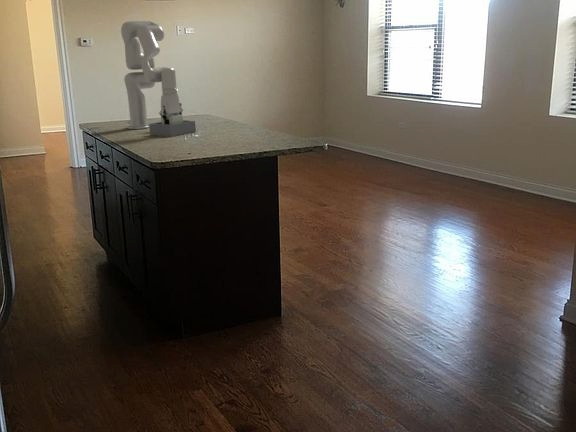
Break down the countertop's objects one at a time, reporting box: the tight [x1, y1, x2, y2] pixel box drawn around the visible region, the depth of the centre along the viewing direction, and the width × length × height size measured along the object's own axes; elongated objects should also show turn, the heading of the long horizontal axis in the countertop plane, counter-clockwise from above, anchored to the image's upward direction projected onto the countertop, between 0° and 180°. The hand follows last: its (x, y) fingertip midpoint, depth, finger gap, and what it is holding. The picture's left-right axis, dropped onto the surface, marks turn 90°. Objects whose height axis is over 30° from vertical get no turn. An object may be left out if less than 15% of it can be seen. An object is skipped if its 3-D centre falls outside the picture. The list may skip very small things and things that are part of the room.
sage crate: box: [160, 114, 184, 125], centre depth 337 cm, size 9×7×7 cm
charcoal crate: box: [148, 119, 197, 137], centre depth 338 cm, size 16×18×6 cm
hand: (172, 125), depth 338 cm, fingers closed on sage crate, 6 cm apart
